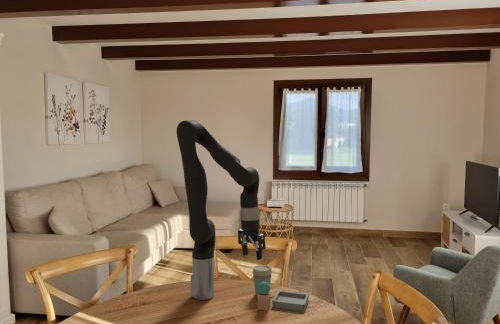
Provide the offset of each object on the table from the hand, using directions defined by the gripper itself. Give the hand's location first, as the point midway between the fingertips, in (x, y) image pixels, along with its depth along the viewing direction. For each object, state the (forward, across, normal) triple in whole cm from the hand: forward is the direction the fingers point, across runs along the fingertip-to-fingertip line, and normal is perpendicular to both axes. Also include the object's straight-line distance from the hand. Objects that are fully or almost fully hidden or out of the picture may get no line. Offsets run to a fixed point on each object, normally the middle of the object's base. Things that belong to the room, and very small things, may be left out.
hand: (252, 257), depth 163 cm
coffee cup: (+20, -6, +9) cm, 23 cm away
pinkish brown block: (+20, +4, +1) cm, 21 cm away
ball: (+14, +5, +1) cm, 15 cm away
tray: (+21, +9, +12) cm, 26 cm away
